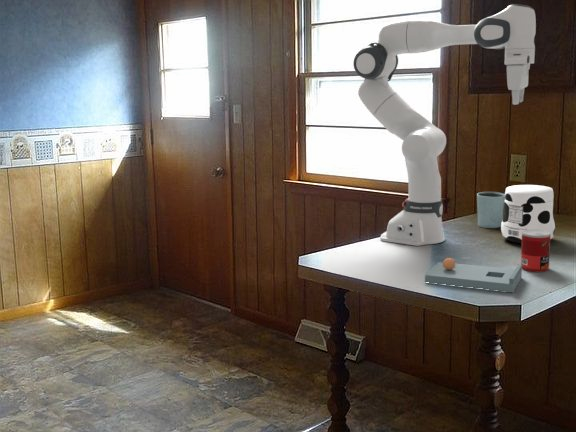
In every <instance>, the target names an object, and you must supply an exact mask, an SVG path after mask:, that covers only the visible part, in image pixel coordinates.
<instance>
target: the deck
mask: <svg viewBox="0 0 576 432" xmlns="http://www.w3.org/2000/svg"><path fill="white" fill-rule="evenodd" d="M522 276H523V268H522V265H521V263H520V264H517V266H516V268H507V267H497V266H495V267H494V266H488V265H487V266H486V265H477V264H466V263H457V262H455V267H454V268H453V269H452V270H446V269H445V268H444V267H443V261H438V262H437V263H435V265H434V266H433V267H432V268H430V269H429V270H428V271H427V272H426V273H425V275H424V283H425V282H429V283H437V284H446V285H455V286H463V287H473V288H483V289H489V290H498V291H506V292H513V291H514V292H515V290H516V289H517V287H518V286H519V284H520V282H521V279H522ZM516 286H517V287H516ZM515 288H516V289H515ZM506 292H505V293H506ZM514 292H513V293H514Z"/></svg>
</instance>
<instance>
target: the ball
mask: <svg viewBox="0 0 576 432" xmlns="http://www.w3.org/2000/svg"><path fill="white" fill-rule="evenodd" d="M442 262H443V267H444V268H445V269H446V270H452V269H453V268H454V267H455V263H456V261H455V260H454V259H453V258H452V257H447V258H445V259H444V260H443V261H442Z"/></svg>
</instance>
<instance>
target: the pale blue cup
mask: <svg viewBox="0 0 576 432" xmlns="http://www.w3.org/2000/svg"><path fill="white" fill-rule="evenodd" d="M476 203H477V205H476V207H477V226H478V227H479V228H480V227H481V228H484V229H496V228H501V223H502V219H503V216H504V211H505V193H502V192H498V191H482V192H481V191H480V192H478V193H476Z"/></svg>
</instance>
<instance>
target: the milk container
mask: <svg viewBox="0 0 576 432" xmlns="http://www.w3.org/2000/svg"><path fill="white" fill-rule="evenodd" d="M553 189H554V188H553V187H550V186H545V185H538V184H517V185H516V184H515V185H511V186H507V187H506V188H505V192H504V194H505V201H504V210H503V217H502V223H501V227H500V230H501V235H502V237H503V238H504V239H506V240H507V241H510V242H513V243H519V244H522V232H523V231H525V230H544V231H547V232H550V241H551V240H552V239H553V238H554V236H555V232H556V231H555V230H556V223H555V220H554V212H553V211H554V197H555V196H554V190H553Z"/></svg>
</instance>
